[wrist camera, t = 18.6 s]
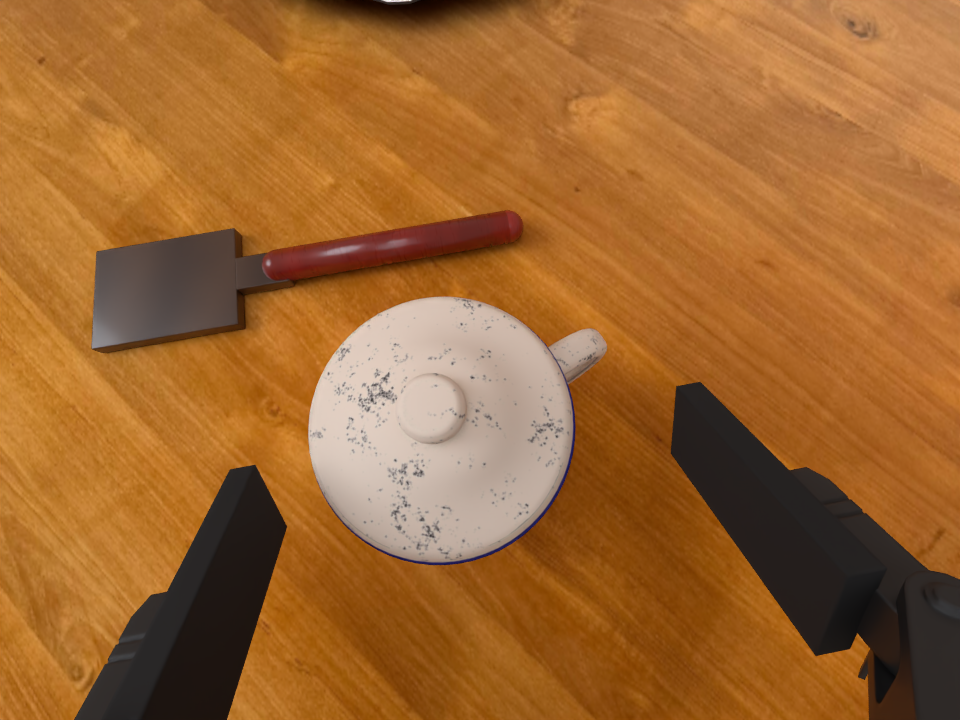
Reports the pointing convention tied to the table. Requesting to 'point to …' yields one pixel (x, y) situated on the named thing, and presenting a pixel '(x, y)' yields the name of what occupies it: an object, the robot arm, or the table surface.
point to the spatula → (249, 275)
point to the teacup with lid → (446, 428)
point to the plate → (397, 1)
